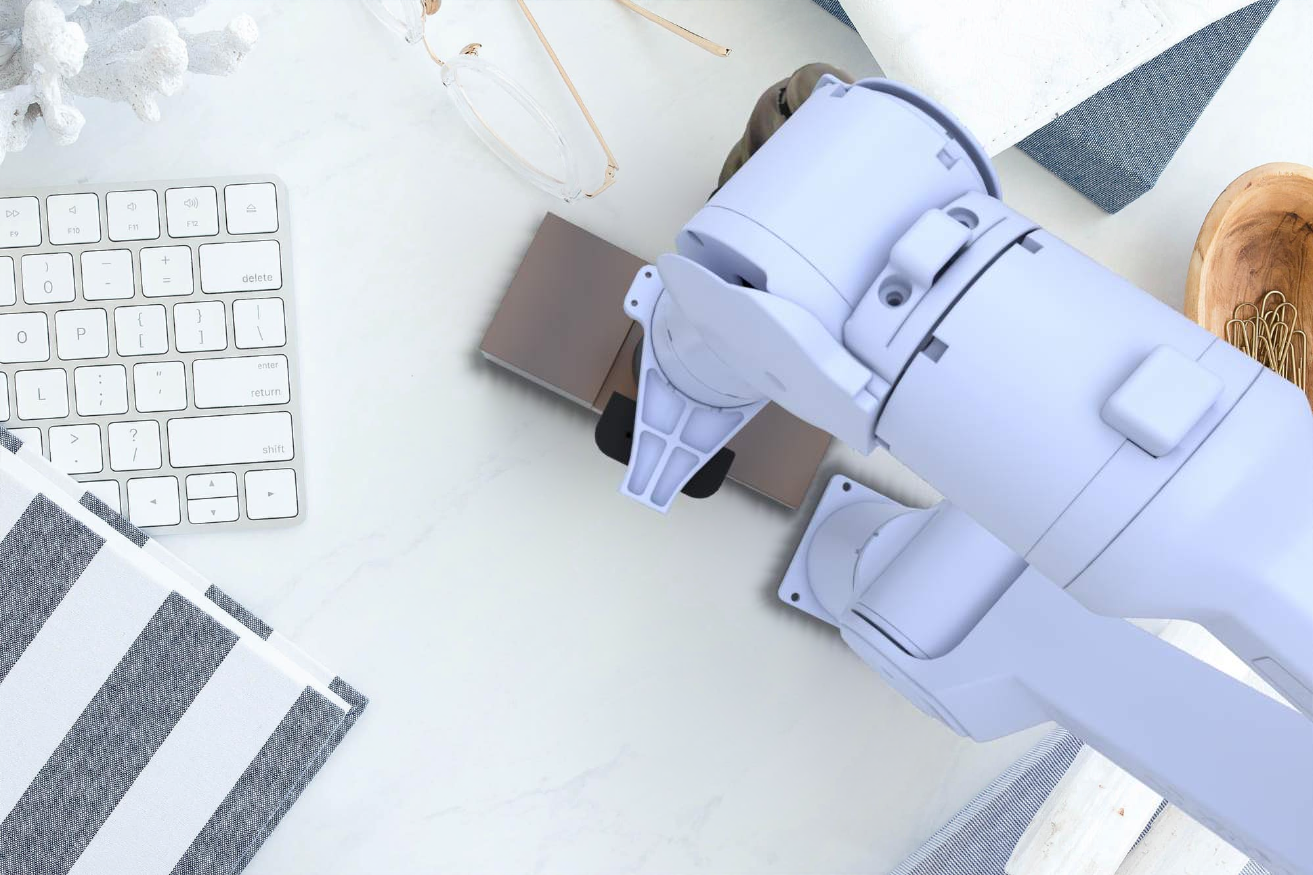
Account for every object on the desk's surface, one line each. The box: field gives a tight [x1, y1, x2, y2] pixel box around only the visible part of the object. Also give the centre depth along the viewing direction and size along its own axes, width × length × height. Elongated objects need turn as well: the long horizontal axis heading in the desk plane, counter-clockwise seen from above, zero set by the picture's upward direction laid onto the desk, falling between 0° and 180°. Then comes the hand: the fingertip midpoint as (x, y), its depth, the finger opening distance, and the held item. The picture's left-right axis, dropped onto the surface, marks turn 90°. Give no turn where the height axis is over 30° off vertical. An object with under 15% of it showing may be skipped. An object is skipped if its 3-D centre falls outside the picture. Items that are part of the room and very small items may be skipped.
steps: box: [478, 211, 834, 510], centre depth 50 cm, size 20×8×4 cm, turn 64°
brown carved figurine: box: [717, 61, 858, 188], centre depth 46 cm, size 6×6×15 cm
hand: (691, 359), depth 44 cm, fingers open, 7 cm apart
